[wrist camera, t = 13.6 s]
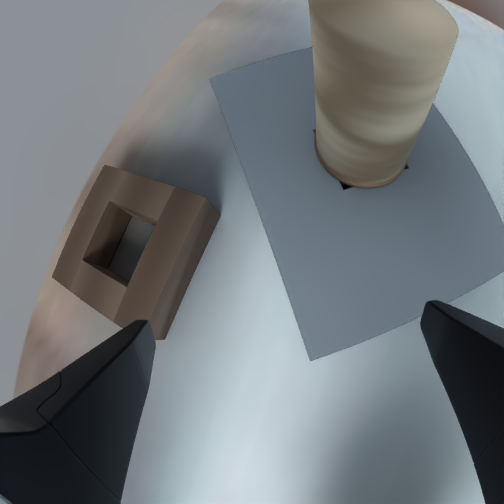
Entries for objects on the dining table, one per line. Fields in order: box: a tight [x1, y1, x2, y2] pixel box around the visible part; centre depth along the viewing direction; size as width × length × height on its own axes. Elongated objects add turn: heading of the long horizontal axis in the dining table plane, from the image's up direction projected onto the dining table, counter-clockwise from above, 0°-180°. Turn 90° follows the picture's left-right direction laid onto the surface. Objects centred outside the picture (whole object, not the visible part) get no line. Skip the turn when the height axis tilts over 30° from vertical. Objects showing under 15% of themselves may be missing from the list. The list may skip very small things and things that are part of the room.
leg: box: [308, 0, 459, 189], centre depth 13 cm, size 6×6×13 cm
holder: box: [52, 165, 221, 340], centre depth 19 cm, size 9×9×3 cm
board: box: [209, 47, 504, 361], centre depth 18 cm, size 20×14×3 cm
